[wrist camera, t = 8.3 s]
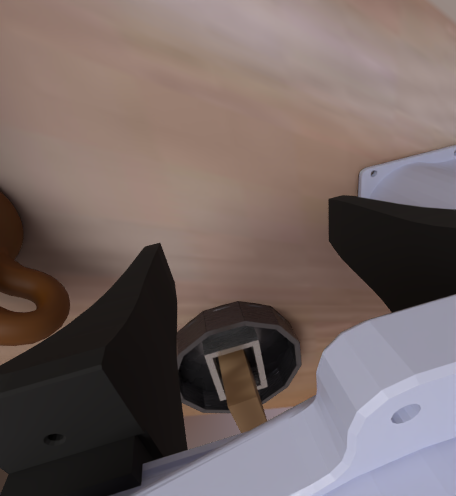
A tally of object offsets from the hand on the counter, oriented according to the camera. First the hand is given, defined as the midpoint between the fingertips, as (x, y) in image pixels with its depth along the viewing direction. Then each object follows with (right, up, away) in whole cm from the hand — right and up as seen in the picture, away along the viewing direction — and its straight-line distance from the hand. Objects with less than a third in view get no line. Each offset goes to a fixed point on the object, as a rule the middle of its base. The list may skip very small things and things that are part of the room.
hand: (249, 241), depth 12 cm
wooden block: (0, -11, +17) cm, 20 cm away
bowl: (0, -11, +18) cm, 21 cm away
